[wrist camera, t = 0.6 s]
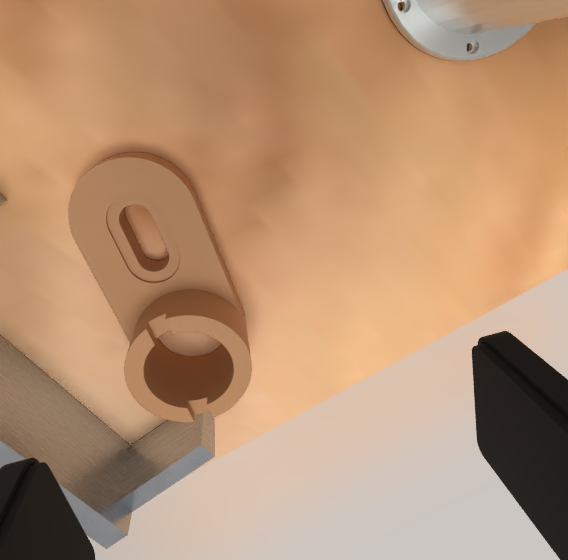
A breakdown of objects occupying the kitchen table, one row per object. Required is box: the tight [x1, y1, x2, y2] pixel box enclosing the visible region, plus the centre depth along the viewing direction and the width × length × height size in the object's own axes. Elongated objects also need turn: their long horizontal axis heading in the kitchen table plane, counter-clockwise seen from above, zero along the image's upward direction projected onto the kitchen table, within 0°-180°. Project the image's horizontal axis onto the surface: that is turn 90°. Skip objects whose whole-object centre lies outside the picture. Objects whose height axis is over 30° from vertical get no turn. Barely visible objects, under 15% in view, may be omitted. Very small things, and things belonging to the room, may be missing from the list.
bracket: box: [69, 152, 252, 422], centre depth 33 cm, size 18×8×7 cm, turn 17°
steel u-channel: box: [0, 194, 215, 549], centre depth 33 cm, size 16×24×8 cm, turn 34°
